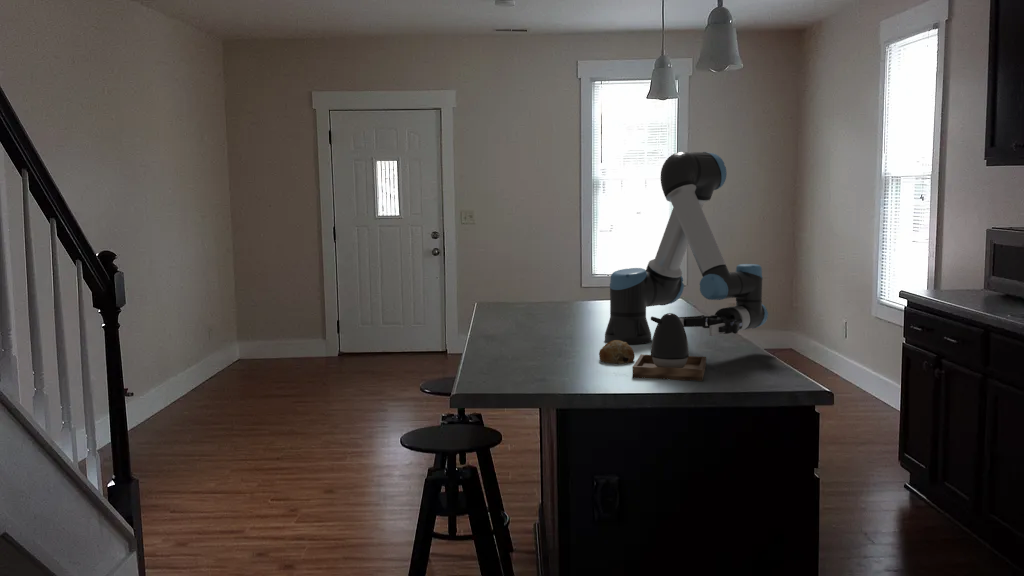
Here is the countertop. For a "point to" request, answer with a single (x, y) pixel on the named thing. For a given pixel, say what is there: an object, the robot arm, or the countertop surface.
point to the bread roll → (616, 353)
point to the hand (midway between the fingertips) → (689, 328)
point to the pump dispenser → (669, 342)
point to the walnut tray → (669, 369)
